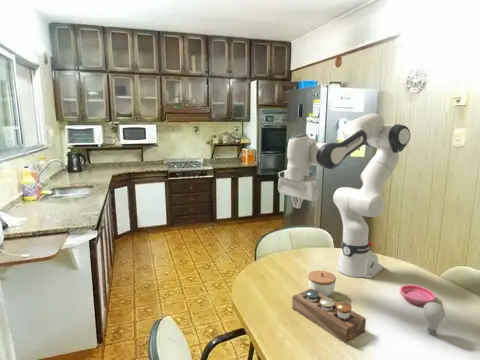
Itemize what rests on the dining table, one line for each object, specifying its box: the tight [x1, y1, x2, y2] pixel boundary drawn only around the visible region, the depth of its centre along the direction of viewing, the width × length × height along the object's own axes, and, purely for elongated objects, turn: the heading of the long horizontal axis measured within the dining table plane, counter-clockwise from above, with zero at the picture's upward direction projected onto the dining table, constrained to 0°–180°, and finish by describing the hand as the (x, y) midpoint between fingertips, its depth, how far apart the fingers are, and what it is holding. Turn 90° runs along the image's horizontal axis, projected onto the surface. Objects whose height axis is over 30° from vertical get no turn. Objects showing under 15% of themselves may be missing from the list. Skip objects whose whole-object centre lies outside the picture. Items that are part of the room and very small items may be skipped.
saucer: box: [399, 284, 437, 307], centre depth 125 cm, size 12×12×3 cm
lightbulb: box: [422, 301, 446, 336], centre depth 103 cm, size 6×6×11 cm
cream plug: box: [320, 297, 335, 312], centre depth 112 cm, size 5×5×6 cm
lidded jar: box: [307, 270, 337, 298], centre depth 129 cm, size 11×11×9 cm
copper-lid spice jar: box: [336, 301, 352, 322], centre depth 106 cm, size 5×5×6 cm
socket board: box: [291, 288, 367, 345], centre depth 112 cm, size 10×24×5 cm, turn 34°
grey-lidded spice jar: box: [305, 289, 319, 303], centre depth 118 cm, size 5×5×6 cm
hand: (296, 207), depth 132 cm, fingers closed
